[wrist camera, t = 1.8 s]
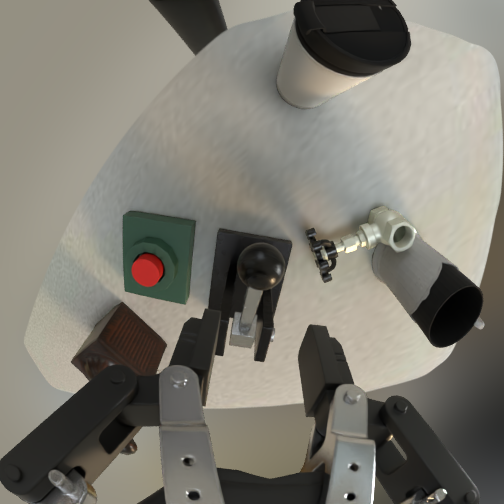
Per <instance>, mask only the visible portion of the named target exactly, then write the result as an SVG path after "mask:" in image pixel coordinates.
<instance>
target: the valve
mask: <svg viewBox="0 0 504 504" xmlns="http://www.w3.org/2000/svg"><path fill="white" fill-rule="evenodd" d="M305 233H306V236H307V239H308V240H309V241H310V243H309V245H310V248H311V251H312V252H313V254H314V257H315V262H316V265H317V267H318V268H319V270H320V275H321V278H322V280H323V281H324V283H326V282H328V281H331V280H332V277H331V274H329V273H328V272H330V271H332V270H333V269H334V268H335V266H336V259H335V258H337V257H338V252H340V251H343V250H344V251H345V252H346V253H349V252H352V251H354V250H357V248H356V246H358V245H360V246H361V247H364V246H365V247H366V249H367V250H369V249H372V248H374V247H376V244H377V243H379V242H381V243H383V244H385V245H389V246H391V247H392V248H393V249H394V250H395V251H396V252H397V253H398V252H402V251H404V250H406V249H408V248H410V247H411V246H412V244H413V241H414V238H415V234H416V230H415V229H414V228H413V226H412V225H411V224H410V223H409V222H408V221H407V220H406V219H405V218H404V217H403V216H402V215H401V214H400V213H399V212H397V211H394V210H389V209H388V208H386V207H385V206H381V207H378V208H375V209H373V210H371V212H370V215H369V218H368V223H366V224H363V225H361V226H359V231H358V232H356V236H354V237H353V236H352V235H351V234H350V235H347V236H345V237H342V238H341V242H340V243H337V244H334V242H333V241H329V240H318V241H316V239H315V237H314V235H316V231H315V229H314V228H311V229H309V230H306V232H305ZM329 260H331V262H332V264H331V266H330V267H329V264H328V262H327V261H329Z"/></svg>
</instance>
